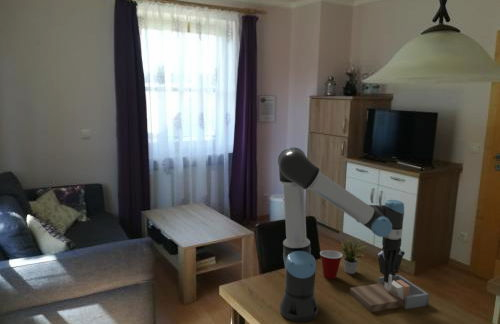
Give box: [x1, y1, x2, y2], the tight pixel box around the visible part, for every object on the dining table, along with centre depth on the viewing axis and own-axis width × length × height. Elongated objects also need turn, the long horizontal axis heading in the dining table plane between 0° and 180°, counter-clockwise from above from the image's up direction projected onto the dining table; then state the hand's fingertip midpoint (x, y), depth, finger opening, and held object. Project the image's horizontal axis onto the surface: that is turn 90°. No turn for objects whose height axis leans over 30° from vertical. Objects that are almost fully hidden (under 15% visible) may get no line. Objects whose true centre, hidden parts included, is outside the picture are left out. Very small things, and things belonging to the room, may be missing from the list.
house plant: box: [340, 238, 369, 275], centre depth 191 cm, size 14×14×16 cm
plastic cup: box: [319, 250, 344, 280], centre depth 185 cm, size 11×11×12 cm
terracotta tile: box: [396, 280, 410, 301], centre depth 169 cm, size 6×6×2 cm
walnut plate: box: [349, 283, 405, 313], centre depth 165 cm, size 16×15×3 cm
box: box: [377, 273, 430, 310], centre depth 169 cm, size 11×19×5 cm, turn 18°
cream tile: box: [391, 280, 404, 300], centre depth 168 cm, size 6×6×2 cm
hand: (387, 288), depth 166 cm, fingers closed
